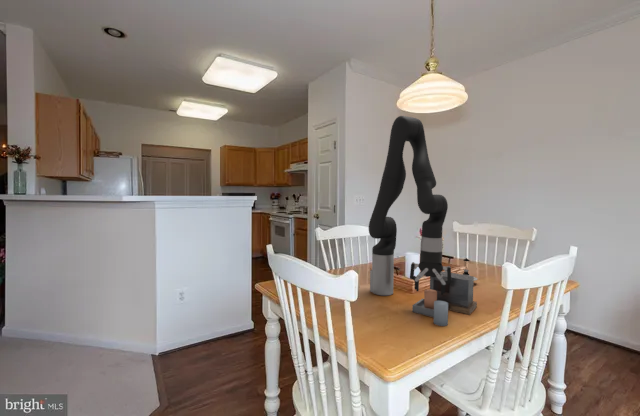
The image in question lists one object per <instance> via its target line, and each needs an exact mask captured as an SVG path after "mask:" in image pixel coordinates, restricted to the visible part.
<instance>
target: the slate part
mask: <svg viewBox="0 0 640 416" xmlns="http://www.w3.org/2000/svg"><path fill="white" fill-rule="evenodd" d="M448 319H449V310H448V303H447V302H445V301H439V300H438V301H434V317H433V324H434V325H436V326H440V327H447V326H448V324H449V322H448V321H449V320H448Z"/></svg>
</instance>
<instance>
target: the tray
mask: <svg viewBox="0 0 640 416" xmlns="http://www.w3.org/2000/svg"><path fill="white" fill-rule="evenodd" d="M411 309H412V311H411V312H412V313H415V314H418V315H422V316H426V317H430V318H434V310H433V309H429V308H425V307H424V298H421V299H420V300H418V301H417V302H415V303H413V304H412V307H411Z"/></svg>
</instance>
